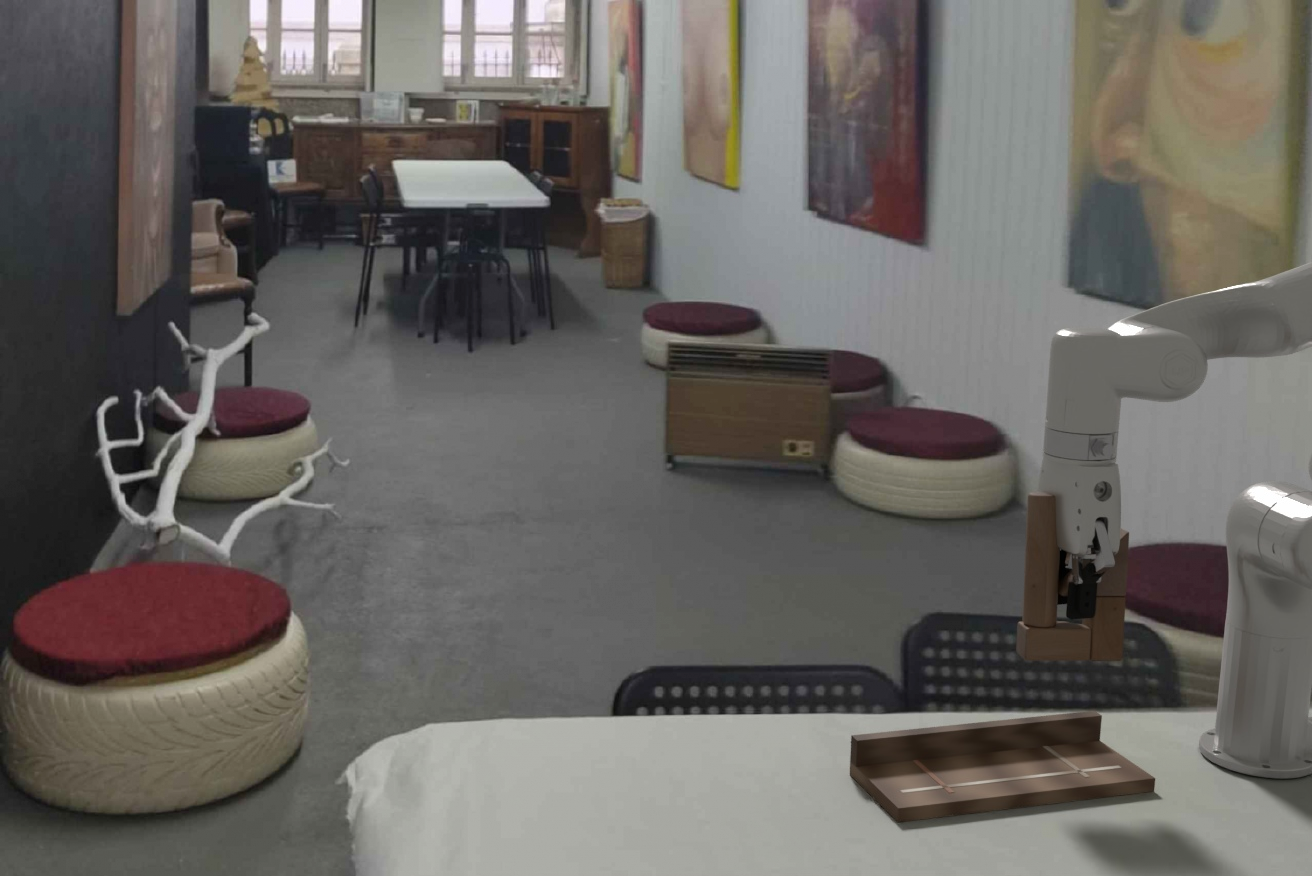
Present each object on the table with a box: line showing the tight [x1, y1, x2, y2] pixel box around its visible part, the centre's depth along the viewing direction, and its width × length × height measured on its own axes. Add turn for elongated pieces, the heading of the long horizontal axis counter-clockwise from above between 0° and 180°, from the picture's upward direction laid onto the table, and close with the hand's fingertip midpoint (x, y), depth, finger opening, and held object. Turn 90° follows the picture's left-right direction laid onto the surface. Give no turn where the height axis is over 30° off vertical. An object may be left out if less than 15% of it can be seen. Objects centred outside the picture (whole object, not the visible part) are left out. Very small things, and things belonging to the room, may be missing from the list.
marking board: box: [849, 710, 1156, 823], centre depth 160 cm, size 30×12×4 cm, turn 106°
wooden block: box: [1015, 491, 1130, 662], centre depth 160 cm, size 4×11×18 cm, turn 93°
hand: (1067, 609), depth 161 cm, fingers closed on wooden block, 4 cm apart
